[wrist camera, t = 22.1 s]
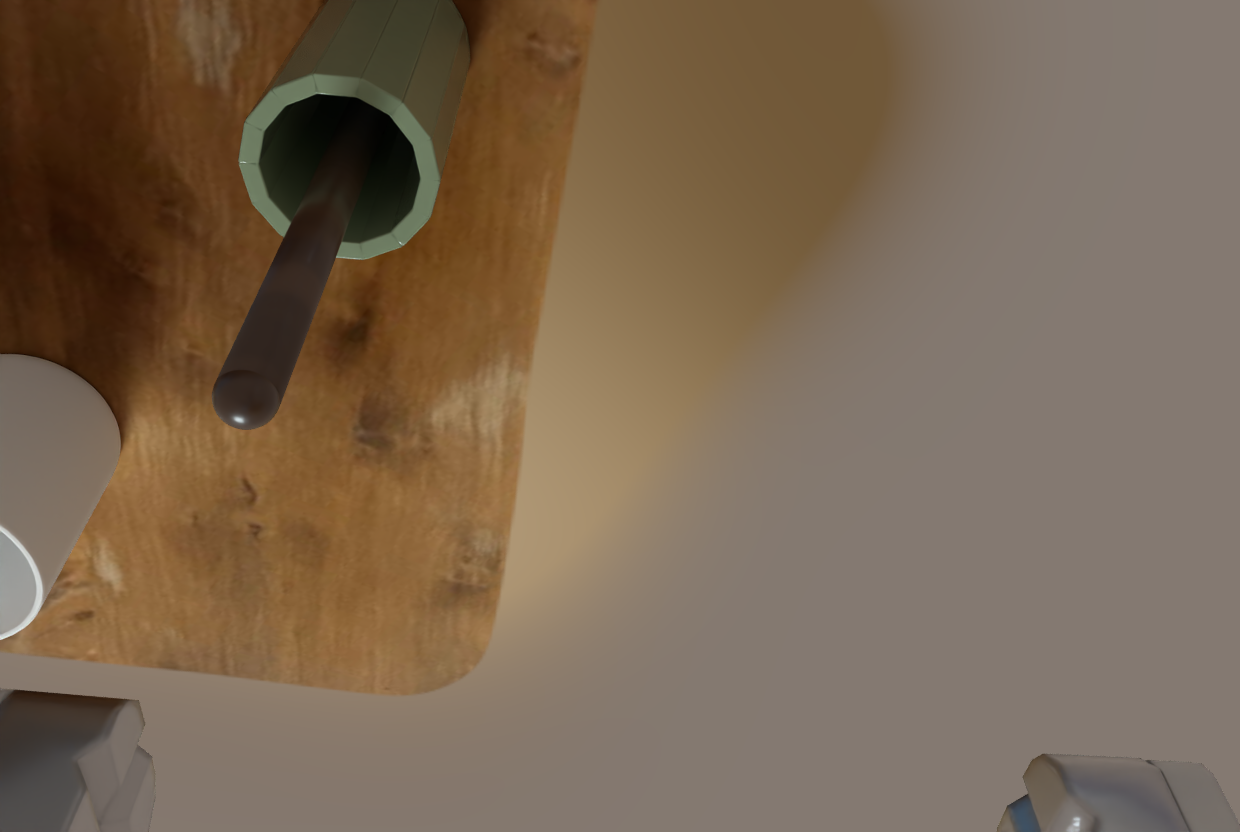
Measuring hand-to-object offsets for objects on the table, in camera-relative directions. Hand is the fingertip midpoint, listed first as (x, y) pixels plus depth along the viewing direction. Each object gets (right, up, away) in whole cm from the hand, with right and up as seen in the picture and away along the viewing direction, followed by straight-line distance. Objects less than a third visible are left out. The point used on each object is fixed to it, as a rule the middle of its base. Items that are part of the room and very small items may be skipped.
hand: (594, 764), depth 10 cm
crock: (-8, +17, +33) cm, 38 cm away
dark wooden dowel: (-8, +17, +32) cm, 38 cm away
